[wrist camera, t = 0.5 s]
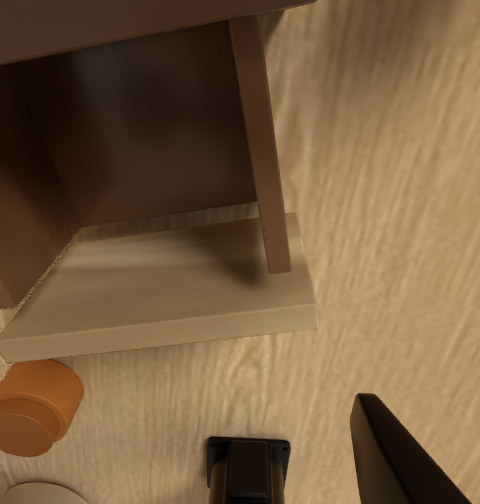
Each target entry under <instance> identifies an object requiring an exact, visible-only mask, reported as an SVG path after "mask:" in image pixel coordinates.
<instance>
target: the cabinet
mask: <svg viewBox="0 0 480 504" xmlns="http://www.w3.org/2000/svg"><path fill="white" fill-rule="evenodd" d="M316 1H317V0H0V65H5V64H10V63H15V62H20V61H25V60H30V59H35V58H40V57H45V56H50V55H55V54H60V53H65V52H70V51H75V50H80V49H85V48H90V47H95V46H100V45H105V44H110V43H115V42H120V41H125V40H130V39H135V38H140V37H145V36H150V35H155V34H160V33H165V32H170V31H175V30H180V29H185V28H190V27H195V26H200V25H205V24H210V23H215V22H220V21H225V20H230V19H235V18H240V17H245V16H250V15H255V14H259V15H261V14H266V13H271V12H276V11H281V10H286V9H290V8H294V7H298V6H302V5H307V4H311V3H315V2H316Z"/></svg>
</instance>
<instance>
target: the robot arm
mask: <svg viewBox="0 0 480 504" xmlns="http://www.w3.org/2000/svg"><path fill="white" fill-rule="evenodd" d="M350 429H351V437H352V444H353V451H354V459H355V466H356V474H357V481H358V488H359V494H360V499H361V504H472V503H471V502H470V501H469V500H468V499H467V498H466V496H465V495H464V494H463V493H462V492H461V491H460V490H459V488H458V487H457V486H456V485H455V484H454V483H453V482H452V481H451V479H450V478H449V477H448V476H447V475H446V474H445V473H444V471H443V470H442V469H441V468H440V467H439V466H438V465H437V463H436V462H435V461H434V460H433V459H432V458H431V457H430V456H429V454H428V453H427V452H426V451H425V450H424V449H423V448H422V446H421V445H420V444H419V443H418V442H417V441H416V440H415V438H414V437H413V436H412V435H411V434H410V433H409V432H408V430H407V429H406V428H405V427H404V426H403V425H402V424H401V423H400V421H399V420H398V419H397V418H396V417H395V416H394V415H393V413H392V412H391V411H390V410H389V409H388V408H387V407H386V405H385V404H384V403H383V402H382V401H381V400H380V399H379V398H378V396H376V395H375V394H371V393H358V394H357V395H356V397H355V400H354V404H353V408H352V412H351V416H350ZM290 450H291V447H290V442H289V441H286V440H270V439H250V438H230V437H210V438H209V439H208V442H207V486H208V487H209V488H210V496H209V504H285V500H284V487H285V481H286V474H287V468H288V462H289V456H290Z"/></svg>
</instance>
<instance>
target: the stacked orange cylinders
mask: <svg viewBox="0 0 480 504" xmlns="http://www.w3.org/2000/svg"><path fill="white" fill-rule="evenodd" d="M83 391H84V390H83V385H82V382H81V380H80V379H79V377H78V376H77V375H76V374H75V373H74V372H73V371H72V370H71V369H69V368H68V367H66V366H64V365H63V364H61V363H58V362H56V361H53V360H49V359H44V360H35V361H26V362H17V363H16V364H14V365H13V366H12V367H11V368H10V370H9V371H8V373H7V374H6V376H5V377H4V378H3V380H2V381H1V383H0V450H1V451H4V452H6V453H9V454H12V455H16V456H23V457H33V456H39V455H42V454H44V453H46V452H47V451H48V450H49V449H50V448H51V446H52V444H53V443H54V442H56V441H58V440H60V439H61V438H62V437H63V436H64V435H65V434H66V432H67V430H68V428H69V426H70V424H71V421H72V419H73V417H74V415H75V412H76V410H77V408H78V406H79V404H80V401H81V399H82V397H83Z"/></svg>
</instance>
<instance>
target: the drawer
mask: <svg viewBox="0 0 480 504" xmlns="http://www.w3.org/2000/svg"><path fill="white" fill-rule="evenodd" d="M256 201H257V204H258V210H259V216H260V217H259V218H252V219H245V220H238V221H231V222H224V223H217V224H210V225H203V226H196V227H189V228H182V229H175V230H168V231H162V232H155V233H148V234H141V235H134V236H127V237H120V238H113V239H106V240H99V241H92V242H85V243H78V244H72V245H71V246H70V247H69V249H68V250H67V251H66V252H65V254H64V255H63V256H62V257H61V259H60V260H59V261H58V262H57V264H56V265H55V266H54V267H53V269H52V270H51V271H50V272H49V274H48V275H47V276H46V277H45V279H44V280H43V281H42V282H41V284H40V285H39V286H38V287H37V289H36V290H35V291H34V292H33V294H32V295H31V296H30V297H29V299H28V300H27V301H26V302H25V304H24V305H23V306H22V307H21V309H20V310H19V311H18V312H17V314H16V315H15V316H14V317H13V319H12V320H11V321H10V322H9V324H8V325H7V326H6V327H5V329H4V330H3V331H2V332H1V334H0V353H1V355H2V357H3V358H4V360H5V361H6V363H17V362H26V361H35V360H44V359H53V358H62V357H71V356H80V355H89V354H98V353H107V352H116V351H125V350H134V349H142V348H151V347H160V346H169V345H178V344H187V343H196V342H205V341H214V340H223V339H232V338H241V337H250V336H259V335H268V334H277V333H286V332H295V331H304V330H313V329H318V327H319V324H318V313H317V304H316V299H315V295H314V290H313V286H312V281H311V277H310V272H309V268H308V263H307V259H306V254H305V250H304V245H303V241H302V236H301V232H300V227H299V222H298V218H297V214H296V213H295V212H294V213H287V214H285V211H284V203H283V196H282V188H281V180H280V172H279V164H278V156H277V149H276V141H275V133H274V125H273V117H272V110H271V102H270V94H269V86H268V78H267V71H266V63H265V55H264V47H263V39H262V32H261V24H260V16H259V14H255V15H250V16H245V17H240V18H235V19H230V20H225V21H220V22H215V23H210V24H205V25H200V26H195V27H190V28H185V29H180V30H175V31H170V32H165V33H160V34H155V35H150V36H145V37H140V38H135V39H130V40H125V41H120V42H115V43H110V44H105V45H100V46H95V47H90V48H85V49H80V50H75V51H70V52H65V53H60V54H55V55H50V56H45V57H40V58H35V59H30V60H25V61H20V62H15V63H10V64H5V65H0V309H7V308H14V307H16V306H17V305H18V304H19V302H20V301H21V300H22V299H23V297H24V296H25V295H26V294H27V293H28V291H29V290H30V289H31V288H32V287H33V285H34V284H35V283H36V282H37V280H38V279H39V278H40V277H41V276H42V274H43V273H44V272H45V271H46V269H47V268H48V267H49V266H50V265H51V263H52V262H53V261H54V260H55V258H56V257H57V256H58V255H59V254H60V252H61V251H62V250H63V249H64V248H65V246H66V245H67V244H68V243H69V241H70V240H71V239H72V238H73V237H74V235H75V234H76V233H77V232H78V230H79V229H80V228H81V227H88V226H94V225H101V224H108V223H115V222H121V221H128V220H135V219H141V218H148V217H155V216H162V215H168V214H175V213H182V212H189V211H195V210H202V209H209V208H216V207H222V206H229V205H236V204H243V203H249V202H256Z"/></svg>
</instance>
